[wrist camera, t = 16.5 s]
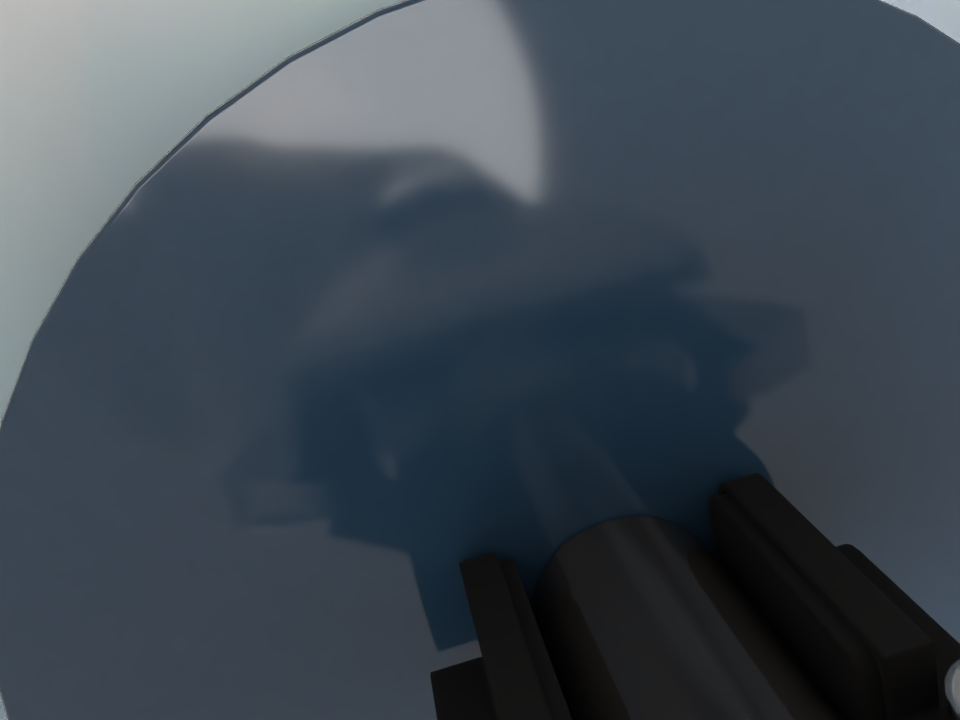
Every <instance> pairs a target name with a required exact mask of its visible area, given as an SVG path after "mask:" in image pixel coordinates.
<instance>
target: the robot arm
mask: <svg viewBox="0 0 960 720" xmlns="http://www.w3.org/2000/svg"><path fill="white" fill-rule="evenodd" d="M718 493H719V495H718V496H714V497H711V498H710V499H709V510H710V516H711V522H712V528H713V533H714V539H715V545H716V550H717V556H718V561H719V562H720V563H721V565H722V566H723V567H724V568H725V570H726V571H727V572H728V574H729V575H730V576H731V577H732V579H733V580H734V581H735V583H736V584H737V585H738V586H739V588H740V589H741V590H742V592H743V593H744V594H745V596H746V597H747V598H748V599H749V601H750V602H751V603H752V605H753V606H754V607H755V608H756V610H757V611H758V612H759V614H760V615H761V616H762V617H763V619H764V620H765V621H766V623H767V624H768V625H769V627H770V628H771V629H772V630H773V632H774V633H775V634H776V636H777V637H778V638H779V639H780V641H781V642H782V643H783V645H784V646H785V647H786V648H787V650H788V651H789V652H790V654H791V655H792V656H793V658H794V659H795V660H796V661H797V663H798V664H799V665H800V667H801V668H802V669H803V670H804V672H805V673H806V674H807V676H808V677H809V678H810V680H811V681H812V682H813V683H814V685H815V686H816V687H817V689H818V690H819V691H820V692H821V694H822V695H823V696H824V698H825V699H826V700H827V701H828V703H829V704H830V705H831V707H832V708H833V709H834V711H835V712H836V713H837V714H838V716H839V717H840V718H841V720H960V643H958V642H957V641H956V640H955V639H954V638H953V637H952V636H951V635H950V634H949V633H948V632H947V631H946V630H944V629H943V628H942V627H941V626H940V625H939V624H938V623H937V622H936V621H935V620H934V619H933V618H932V617H931V616H929V615H928V614H927V613H926V612H925V611H924V610H923V609H922V608H921V607H920V606H919V605H918V604H917V603H915V602H914V601H913V600H912V599H911V598H910V597H909V596H908V595H907V594H906V593H905V592H904V591H903V590H902V589H900V588H899V587H898V586H897V585H896V584H895V583H894V582H893V581H892V580H891V579H890V578H889V577H888V576H887V575H885V574H884V573H883V572H882V571H881V570H880V569H879V568H878V567H877V566H876V565H875V564H874V563H873V562H871V561H870V560H869V559H868V558H867V557H866V556H865V555H864V554H863V553H862V552H861V551H860V550H858V549H857V548H856V547H854V546H853V545H850V544H843V545H839V546H834V545H833V544H832V543H831V542H830V541H829V540H828V539H827V538H826V537H825V536H824V535H823V534H822V533H821V532H820V531H819V530H818V529H817V528H816V527H815V526H814V525H813V524H812V523H811V522H810V521H809V520H808V519H807V518H806V517H805V516H803V515H802V514H801V513H800V512H799V511H798V510H797V509H796V508H795V507H794V506H793V505H792V504H791V503H790V502H789V501H788V500H787V499H786V498H785V497H784V496H783V495H782V494H781V493H780V492H779V491H778V490H777V489H776V488H775V487H774V486H772V485H771V484H770V483H769V482H768V481H767V480H766V479H765V478H764V477H763V476H762V475H761V474H759V473H755V474H752V475H748V476H745V477H742V478H738V479H735V480H732V481H728V482H725V483H722V484H720V486H719V490H718ZM459 567H460V571H461V575H462V579H463V583H464V587H465V591H466V595H467V599H468V603H469V607H470V611H471V614H472V618H473V622H474V626H475V630H476V634H477V638H478V642H479V646H480V650H481V654H482V657H478V658H475V659H472V660H469V661H466V662H462V663H459V664H456V665H453V666H449V667H446V668H443V669H440V670H437V671H433V672H431V674H430V677H431V685H432V691H433V697H434V703H435V709H436V715H437V720H572V717H571V715H570V712H569V709H568V706H567V704H566V701H565V698H564V696H563V693H562V690H561V687H560V685H559V682H558V679H557V676H556V674H555V671H554V668H553V666H552V663H551V660H550V657H549V655H548V652H547V649H546V646H545V644H544V641H543V638H542V636H541V633H540V630H539V627H538V625H537V622H536V619H535V616H534V614H533V611H532V608H531V606H530V603H529V600H528V597H527V595H526V592H525V589H524V586H523V584H522V581H521V578H520V576H519V573H518V570H517V567H516V565H515V562H514V559H513V558H510V559H507V560H503V561H500V562H498V559H497V556H496V553H495V552H494V553H491V554H487V555H484V556H481V557H477V558H474V559H471V560H467V561H464V562H461V563H459Z"/></svg>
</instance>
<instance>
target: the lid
mask: <svg viewBox="0 0 960 720" xmlns="http://www.w3.org/2000/svg"><path fill="white" fill-rule="evenodd" d="M755 473H759V474H761V475H762V476H763V477H764V478H765V479H766V480H767V481H768V482H769V483H770V484H771V485H772V486H774V487H775V488H776V489H777V490H778V491H779V492H780V493H781V494H782V495H783V496H784V497H785V498H786V499H787V500H788V501H789V502H790V503H791V504H792V505H793V506H794V507H795V508H796V509H797V510H798V511H799V512H800V513H801V514H802V515H803V516H805V517H806V518H807V519H808V520H809V521H810V522H811V523H812V524H813V525H814V526H815V527H816V528H817V529H818V530H819V531H820V532H821V533H822V534H823V535H824V536H825V537H826V538H827V539H828V540H829V541H830V542H831V543H832V544H833V545H834V546H839V545H843V544H850V545H853V546H854V547H856V548H857V549H858V550H860V551H861V552H862V553H863V554H864V555H865V556H866V557H867V558H868V559H869V560H870V561H871V562H873V563H874V564H875V565H876V566H877V567H878V568H879V569H880V570H881V571H882V572H883V573H884V574H885V575H887V576H888V577H889V578H890V579H891V580H892V581H893V582H894V583H895V584H896V585H897V586H898V587H899V588H900V589H902V590H903V591H904V592H905V593H906V594H907V595H908V596H909V597H910V598H911V599H912V600H913V601H914V602H915V603H917V604H918V605H919V606H920V607H921V608H922V609H923V610H924V611H925V612H926V613H927V614H928V615H929V616H931V617H932V618H933V619H934V620H935V621H936V622H937V623H938V624H939V625H940V626H941V627H942V628H943V629H944V630H946V631H947V632H948V633H949V634H950V635H951V636H952V637H953V638H954V639H955V640H956V641H957V642H958V643H960V43H958V42H957V41H955V40H954V39H952V38H950V37H949V36H947V35H946V34H944V33H943V32H941V31H940V30H938V29H936V28H935V27H933V26H932V25H930V24H929V23H927V22H925V21H924V20H922V19H921V18H919V17H918V16H916V15H914V14H911V13H909V12H907V11H904V10H902V9H900V8H897V7H895V6H893V5H890V4H888V3H886V2H883V1H881V0H404V1H401V2H398V3H396V4H393V5H390V6H387V7H384V8H381V9H379V10H376V11H374V12H372V13H370V14H369V15H367V16H365V17H363V18H361V19H359V20H357V21H355V22H353V23H351V24H349V25H348V26H346V27H344V28H342V29H340V30H338V31H336V32H334V33H332V34H330V35H328V36H327V37H325V38H323V39H321V40H319V41H317V42H315V43H313V44H311V45H309V46H307V47H306V48H304V49H302V50H300V51H298V52H296V53H294V54H292V55H290V56H288V57H287V58H285V59H284V60H283V61H281V62H280V63H278V64H277V65H276V66H274V67H273V68H271V69H270V70H269V71H267V72H266V73H265V74H263V75H262V76H260V77H259V78H258V79H256V80H255V81H253V82H252V83H251V84H249V85H248V86H246V87H245V88H244V89H242V90H241V91H240V92H238V93H237V94H235V95H234V96H233V97H231V98H230V99H228V100H227V101H226V102H224V103H223V104H221V105H220V106H219V107H217V108H216V109H215V110H213V111H212V112H210V113H209V114H208V115H206V116H205V117H204V118H203V119H202V120H201V121H200V122H199V123H198V124H197V125H196V126H195V127H194V128H193V129H192V130H191V131H190V132H189V133H187V134H186V135H185V136H184V137H183V138H182V139H181V140H180V141H179V142H178V143H177V144H176V145H175V146H174V147H173V148H172V149H171V150H170V151H169V152H168V153H167V154H166V155H165V156H164V157H163V158H161V159H160V160H159V161H158V162H157V163H156V164H155V165H154V166H153V167H152V168H151V169H150V170H149V171H148V172H147V173H146V174H145V175H144V176H143V177H142V178H141V179H140V180H139V181H138V182H137V183H136V184H135V185H134V186H133V187H132V189H131V190H130V191H129V193H128V194H127V195H126V196H125V198H124V199H123V200H122V202H121V203H120V204H119V205H118V207H117V208H116V209H115V211H114V212H113V213H112V214H111V216H110V217H109V218H108V220H107V221H106V222H105V223H104V225H103V226H102V227H101V229H100V230H99V231H98V232H97V234H96V235H95V236H94V238H93V239H92V240H91V241H90V243H89V244H88V245H87V247H86V248H85V249H84V250H83V252H82V253H81V254H80V256H79V257H78V258H77V260H76V262H75V263H74V265H73V267H72V269H71V270H70V272H69V274H68V276H67V278H66V279H65V281H64V283H63V285H62V286H61V288H60V290H59V292H58V294H57V295H56V297H55V299H54V301H53V302H52V304H51V306H50V308H49V310H48V311H47V313H46V315H45V317H44V318H43V320H42V322H41V324H40V326H39V327H38V329H37V331H36V333H35V334H34V336H33V338H32V340H31V343H30V346H29V348H28V351H27V354H26V356H25V359H24V362H23V364H22V367H21V370H20V372H19V375H18V377H17V380H16V383H15V385H14V388H13V391H12V393H11V396H10V399H9V401H8V404H7V407H6V409H5V412H4V415H3V417H2V420H1V424H0V695H1V698H2V702H3V705H4V709H5V712H6V716H7V719H8V720H437V715H436V709H435V703H434V697H433V691H432V685H431V677H430V674H431V672H433V671H437V670H440V669H443V668H446V667H449V666H453V665H456V664H459V663H462V662H466V661H469V660H472V659H475V658H478V657H482V654H481V650H480V646H479V642H478V638H477V634H476V630H475V626H474V622H473V618H472V614H471V611H470V607H469V603H468V599H467V595H466V591H465V587H464V583H463V579H462V575H461V571H460V567H459V563H461V562H464V561H467V560H471V559H474V558H477V557H481V556H484V555H487V554H491V553H494V552H495V553H496V556H497V559H498V562H500V561H503V560H507V559H510V558H513V559H514V562H515V565H516V567H517V570H518V573H519V576H520V578H521V581H522V584H523V586H524V589H525V592H526V595H527V597H528V600H529V603H530V606H531V608H532V611H533V614H534V616H535V619H536V622H537V625H538V627H539V630H540V633H541V636H542V638H543V641H544V644H545V646H546V649H547V652H548V655H549V657H550V660H551V663H552V666H553V668H554V671H555V674H556V676H557V679H558V682H559V685H560V687H561V690H562V693H563V696H564V698H565V701H566V704H567V706H568V709H569V712H570V715H571V717H572V720H841V718H840V717H839V716H838V714H837V713H836V712H835V711H834V709H833V708H832V707H831V705H830V704H829V703H828V701H827V700H826V699H825V698H824V696H823V695H822V694H821V692H820V691H819V690H818V689H817V687H816V686H815V685H814V683H813V682H812V681H811V680H810V678H809V677H808V676H807V674H806V673H805V672H804V670H803V669H802V668H801V667H800V665H799V664H798V663H797V661H796V660H795V659H794V658H793V656H792V655H791V654H790V652H789V651H788V650H787V648H786V647H785V646H784V645H783V643H782V642H781V641H780V639H779V638H778V637H777V636H776V634H775V633H774V632H773V630H772V629H771V628H770V627H769V625H768V624H767V623H766V621H765V620H764V619H763V617H762V616H761V615H760V614H759V612H758V611H757V610H756V608H755V607H754V606H753V605H752V603H751V602H750V601H749V599H748V598H747V597H746V596H745V594H744V593H743V592H742V590H741V589H740V588H739V586H738V585H737V584H736V583H735V581H734V580H733V579H732V577H731V576H730V575H729V574H728V572H727V571H726V570H725V568H724V567H723V566H722V565H721V563H720V562H719V561H718V556H717V550H716V545H715V539H714V533H713V528H712V522H711V516H710V510H709V499H710V498H711V497H714V496H718V495H719V493H718V490H719V486H720V484H722V483H725V482H728V481H732V480H735V479H738V478H742V477H745V476H748V475H752V474H755Z"/></svg>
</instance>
